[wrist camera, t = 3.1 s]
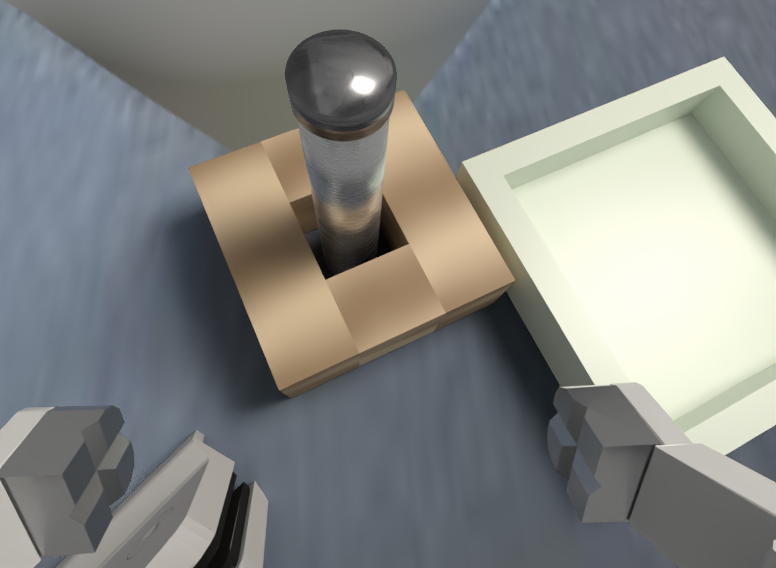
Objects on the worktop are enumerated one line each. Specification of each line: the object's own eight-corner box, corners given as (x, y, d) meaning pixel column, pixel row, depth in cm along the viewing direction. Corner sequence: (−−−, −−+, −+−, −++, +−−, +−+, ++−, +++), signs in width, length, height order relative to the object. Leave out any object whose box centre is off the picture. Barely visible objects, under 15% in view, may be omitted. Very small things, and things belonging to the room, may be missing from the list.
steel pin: (312, 240, 27) (268, 49, 14) (364, 219, 28) (368, 16, 14) (335, 289, 26) (311, 135, 13) (388, 266, 27) (415, 97, 14)
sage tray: (450, 194, 29) (462, 161, 25) (685, 96, 32) (724, 56, 29) (618, 487, 24) (659, 494, 21) (873, 336, 27) (945, 322, 24)
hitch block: (211, 205, 27) (188, 168, 24) (398, 134, 30) (404, 89, 26) (291, 398, 24) (279, 390, 21) (493, 303, 27) (515, 280, 23)
